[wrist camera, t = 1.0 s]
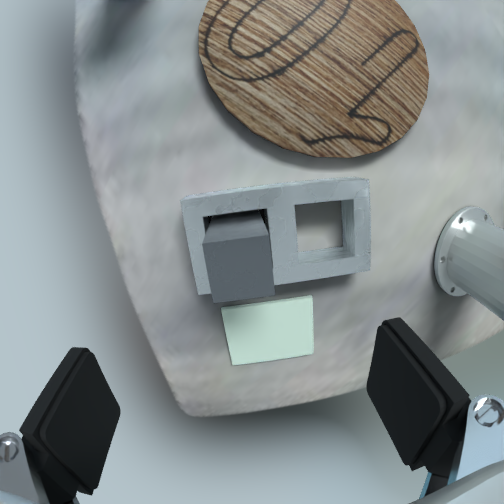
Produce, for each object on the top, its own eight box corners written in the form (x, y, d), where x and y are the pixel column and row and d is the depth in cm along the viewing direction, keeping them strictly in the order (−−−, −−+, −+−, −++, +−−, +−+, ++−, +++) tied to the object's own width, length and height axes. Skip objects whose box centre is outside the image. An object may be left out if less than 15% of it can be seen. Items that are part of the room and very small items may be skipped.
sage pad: (311, 294, 31) (312, 297, 31) (312, 350, 34) (313, 353, 33) (221, 307, 31) (221, 309, 31) (232, 362, 34) (232, 365, 33)
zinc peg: (257, 208, 28) (269, 234, 19) (262, 251, 30) (275, 295, 20) (213, 214, 28) (201, 243, 19) (220, 256, 30) (213, 303, 20)
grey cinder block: (354, 176, 28) (368, 179, 24) (357, 258, 30) (370, 270, 27) (186, 195, 27) (180, 200, 24) (202, 280, 30) (198, 294, 27)
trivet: (445, 59, 23) (454, 56, 22) (349, 206, 29) (356, 209, 27) (286, -58, 18) (288, -66, 16) (151, 72, 23) (146, 67, 22)
